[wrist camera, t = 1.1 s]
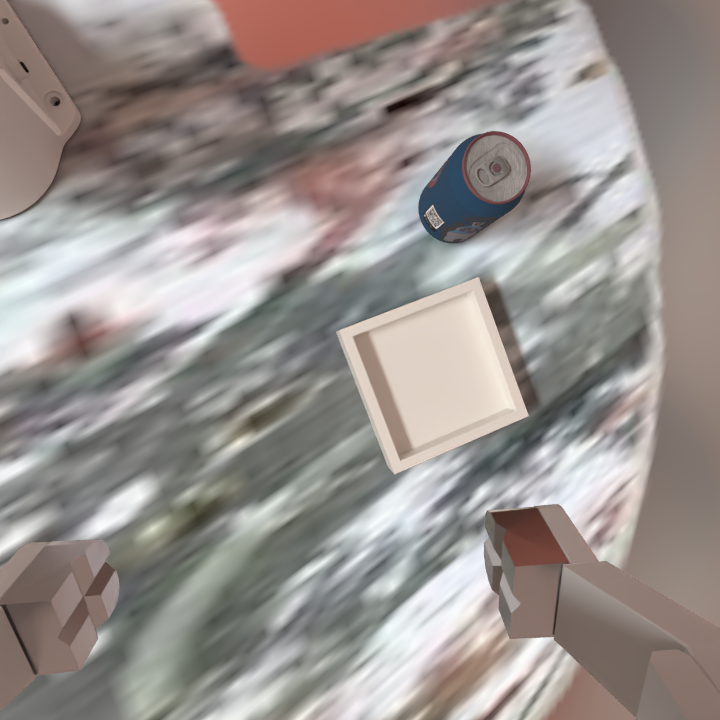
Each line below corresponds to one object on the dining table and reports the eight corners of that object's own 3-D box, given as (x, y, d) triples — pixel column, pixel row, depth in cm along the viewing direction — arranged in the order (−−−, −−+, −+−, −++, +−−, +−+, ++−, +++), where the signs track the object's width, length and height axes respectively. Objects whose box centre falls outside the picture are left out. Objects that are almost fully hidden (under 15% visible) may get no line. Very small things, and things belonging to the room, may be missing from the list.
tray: (336, 331, 47) (339, 330, 44) (467, 281, 49) (478, 277, 46) (387, 466, 48) (394, 474, 45) (514, 412, 50) (528, 415, 47)
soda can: (455, 167, 48) (509, 107, 37) (490, 224, 49) (553, 182, 37) (402, 201, 48) (439, 150, 36) (437, 258, 48) (485, 227, 36)
